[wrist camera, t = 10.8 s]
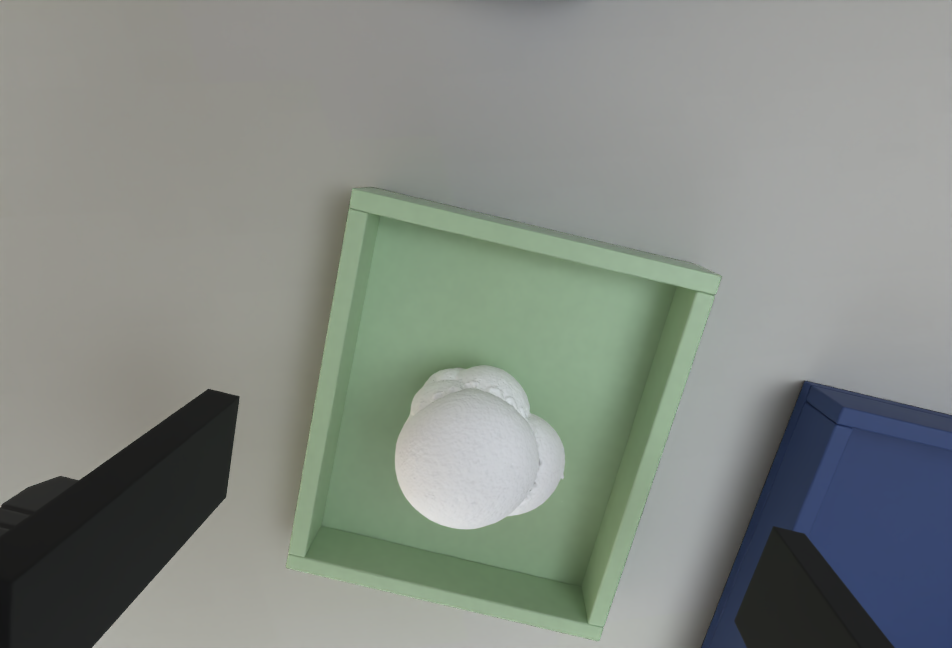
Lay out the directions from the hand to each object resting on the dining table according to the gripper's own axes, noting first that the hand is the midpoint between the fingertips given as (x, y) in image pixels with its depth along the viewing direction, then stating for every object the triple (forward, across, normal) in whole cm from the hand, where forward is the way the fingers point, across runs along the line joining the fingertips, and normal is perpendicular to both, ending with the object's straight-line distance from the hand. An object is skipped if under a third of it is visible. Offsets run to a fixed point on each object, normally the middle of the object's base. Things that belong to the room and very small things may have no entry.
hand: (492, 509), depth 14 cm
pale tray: (+7, 0, 0) cm, 7 cm away
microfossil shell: (+7, 0, 0) cm, 7 cm away
